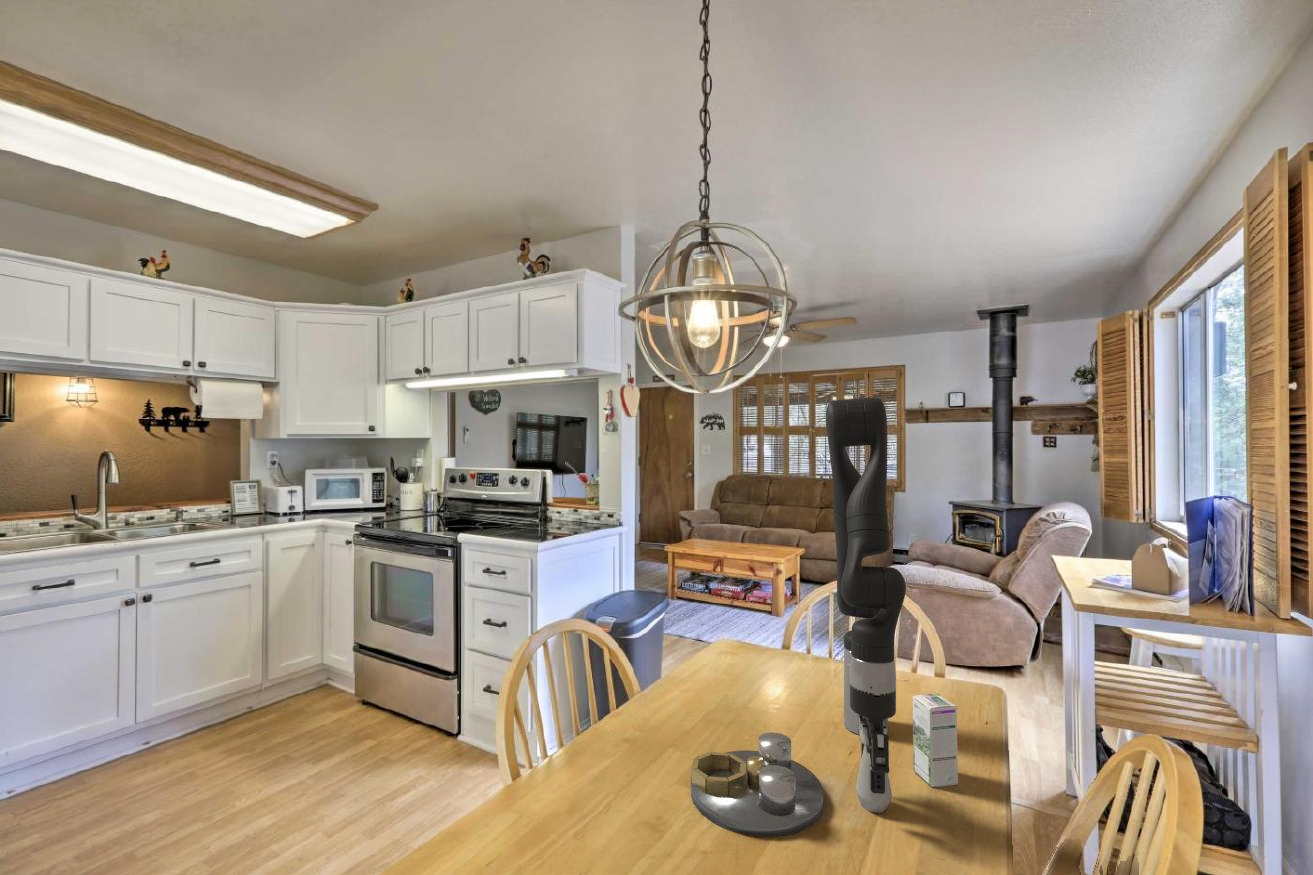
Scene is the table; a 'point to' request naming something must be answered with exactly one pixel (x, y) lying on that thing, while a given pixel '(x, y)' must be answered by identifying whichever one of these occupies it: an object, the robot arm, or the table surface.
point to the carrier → (757, 789)
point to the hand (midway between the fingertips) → (872, 778)
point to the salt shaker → (865, 795)
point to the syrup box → (935, 740)
